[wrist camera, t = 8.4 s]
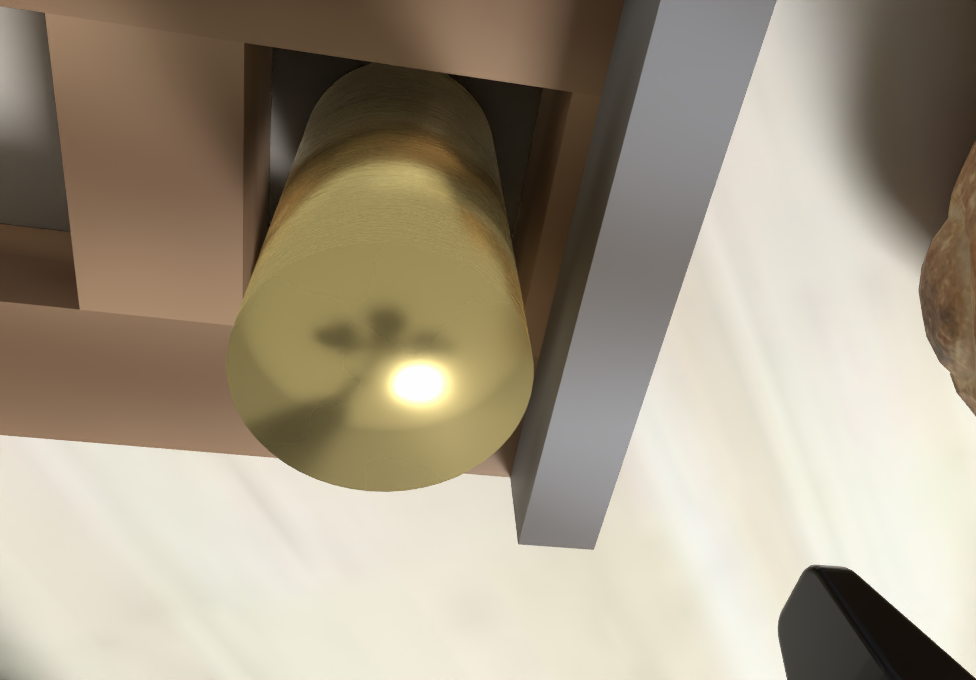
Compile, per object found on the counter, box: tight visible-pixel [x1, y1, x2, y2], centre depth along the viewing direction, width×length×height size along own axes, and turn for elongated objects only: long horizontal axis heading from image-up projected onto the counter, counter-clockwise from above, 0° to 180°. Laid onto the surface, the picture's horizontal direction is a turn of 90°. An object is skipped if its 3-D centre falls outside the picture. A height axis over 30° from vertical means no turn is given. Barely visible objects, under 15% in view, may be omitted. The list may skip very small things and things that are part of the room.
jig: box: [0, 0, 777, 550], centre depth 15 cm, size 12×18×5 cm, turn 80°
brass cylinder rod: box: [226, 63, 534, 492], centre depth 14 cm, size 4×4×8 cm
